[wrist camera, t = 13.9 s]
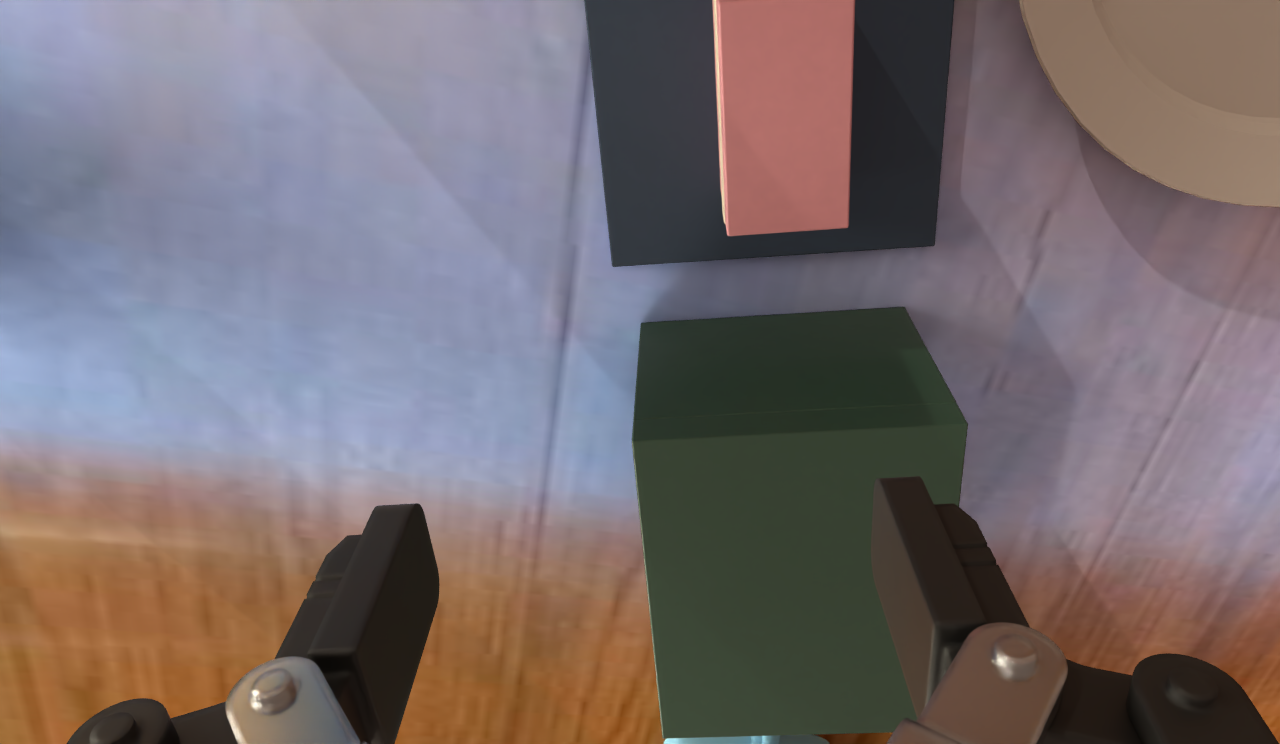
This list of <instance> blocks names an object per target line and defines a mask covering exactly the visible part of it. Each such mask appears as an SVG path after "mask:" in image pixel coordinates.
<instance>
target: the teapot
mask: <svg viewBox="0 0 1280 744" xmlns="http://www.w3.org/2000/svg"><path fill="white" fill-rule="evenodd" d="M664 744H829V742H828V741H827V740H826V739H824V738H821V737H819V736H816V735H813V734H812V735H776V736H740V737H704V738H668V739H665V742H664Z"/></svg>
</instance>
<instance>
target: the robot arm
mask: <svg viewBox="0 0 1280 744" xmlns="http://www.w3.org/2000/svg"><path fill="white" fill-rule="evenodd" d="M871 564H872V572H873V578H874V582H875V586H876V589H877V592H878V595H879V599H880V602H881V605H882V608H883V611H884V614H885V618H886V621H887V624H888V627H889V630H890V633H891V637H892V640H893V643H894V646H895V649H896V653H897V656H898V659H899V662H900V665H901V668H902V672H903V675H904V678H905V681H906V684H907V687H908V691H909V694H910V697H911V700H912V703H913V707H914V710H915V713H916V716H917V720H916V721H914V720H912V719H910V718H905V719H903V720H902V721H901V722H900V724H899V725H898V726H897V728H896V729H895V731H894V732H893V734H892V735H891V737H890V739H889V740H888V742H887V744H1279V743H1278V741H1277V740H1276V738H1275V737H1274V735H1273V734H1272V732H1271V731H1270V729H1269V728H1268V726H1267V725H1266V723H1265V722H1264V720H1263V719H1262V717H1261V715H1260V714H1259V712H1258V711H1257V709H1256V708H1255V706H1254V705H1253V703H1252V702H1251V700H1250V699H1249V697H1248V696H1247V694H1246V693H1245V691H1244V690H1243V689H1242V687H1241V686H1240V685H1239V684H1238V683H1237V682H1236V681H1235V680H1234V679H1233V678H1232V677H1230V676H1229V675H1228V674H1227V673H1225V672H1224V671H1222V670H1220V669H1219V668H1217V667H1215V666H1213V665H1211V664H1209V663H1207V662H1205V661H1202V660H1200V659H1197V658H1193V657H1190V656H1186V655H1180V654H1158V655H1153V656H1150V657H1147V658H1145V659H1144V660H1142V661H1141V662H1139V664H1138V665H1137V666H1136V667H1135V670H1134V672H1133V676H1131V675H1126V674H1121V673H1116V672H1111V671H1106V670H1101V669H1096V668H1091V667H1087V666H1083V665H1080V664H1077V663H1074V662H1072V661H1070V660H1067V659H1066V658H1065V656H1064V654H1063V652H1062V651H1061V650H1060V648H1059V647H1058V646H1057V645H1056V644H1055V643H1054V642H1053V641H1052V640H1051V639H1049V638H1048V637H1047V636H1045V635H1043V634H1042V633H1040V632H1038V631H1036V630H1034V629H1032V628H1030V627H1029V625H1028V623H1027V621H1026V619H1025V617H1024V615H1023V613H1022V611H1021V609H1020V607H1019V605H1018V603H1017V601H1016V599H1015V597H1014V595H1013V593H1012V591H1011V589H1010V587H1009V585H1008V583H1007V581H1006V579H1005V577H1004V575H1003V573H1002V571H1001V570H1000V568H999V566H998V565H996V560H995V558H994V556H993V554H992V552H991V550H990V548H989V547H987V542H986V540H985V538H984V536H983V534H982V532H981V530H980V528H979V526H978V524H977V522H976V521H975V520H974V519H972V518H971V517H970V516H969V515H968V514H966V513H965V512H964V511H963V510H962V509H960V508H959V507H958V506H957V505H956V504H954V503H952V504H933V502H932V499H931V497H930V495H929V493H928V491H927V488H926V486H925V484H924V482H923V480H922V478H921V477H920V476H912V477H895V478H877V479H876V480H875V484H874V494H873V513H872V533H871ZM438 598H439V574H438V568H437V564H436V560H435V556H434V552H433V548H432V544H431V539H430V535H429V531H428V527H427V523H426V519H425V515H424V511H423V509H422V507H421V505H420V504H400V505H383V506H376V507H375V508H374V510H373V512H372V514H371V516H370V518H369V520H368V522H367V525H366V527H365V529H364V531H363V533H362V535H350V536H347V537H345V538H344V539H343V540H342V541H341V542H340V543H339V544H338V545H337V546H336V547H335V548H334V549H333V550H332V551H331V552H330V553H328V554H327V555H326V557H325V559H324V561H323V563H322V565H321V567H320V569H319V571H318V573H317V575H316V581H313V583H312V585H311V587H310V589H309V591H308V593H307V599H304V601H303V603H302V605H301V607H300V609H299V611H298V613H297V615H296V617H295V619H294V621H293V623H292V625H291V627H290V629H289V631H288V633H287V635H286V637H285V639H284V641H283V643H282V645H281V647H280V649H279V651H278V653H277V655H276V657H275V659H274V660H271V661H268V662H266V663H264V664H262V665H260V666H258V667H256V668H254V669H253V670H251V671H250V672H249V673H247V674H246V675H245V676H244V677H242V678H241V679H240V680H239V681H238V682H237V683H236V685H235V686H234V687H233V689H232V690H231V691H230V693H229V696H228V698H227V701H226V702H223V703H220V704H217V705H215V706H211V707H208V708H204V709H201V710H198V711H194V712H191V713H188V714H184V715H181V716H178V717H174V718H171V719H170V717H169V714H168V712H167V710H166V708H165V707H164V706H163V705H162V704H161V703H159V702H158V701H155V700H152V699H133V700H128V701H124V702H120V703H118V704H115V705H113V706H110V707H108V708H106V709H104V710H102V711H101V712H99V713H98V714H96V715H94V716H93V717H92V718H90V719H89V720H87V721H86V722H85V723H84V724H83V725H82V726H81V727H79V729H78V730H77V731H76V732H75V733H74V734H73V735H72V737H71V738H70V739H69V741H68V742H67V744H394V743H395V740H396V737H397V734H398V730H399V727H400V724H401V721H402V717H403V714H404V711H405V708H406V705H407V701H408V698H409V695H410V692H411V688H412V685H413V682H414V679H415V675H416V672H417V669H418V666H419V663H420V659H421V656H422V653H423V650H424V646H425V643H426V640H427V637H428V633H429V630H430V627H431V624H432V621H433V617H434V614H435V611H436V608H437V604H438Z"/></svg>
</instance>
